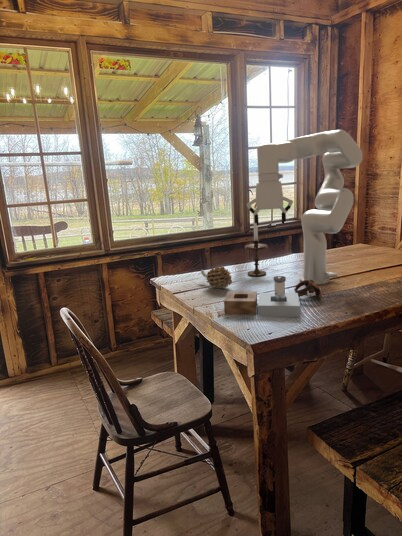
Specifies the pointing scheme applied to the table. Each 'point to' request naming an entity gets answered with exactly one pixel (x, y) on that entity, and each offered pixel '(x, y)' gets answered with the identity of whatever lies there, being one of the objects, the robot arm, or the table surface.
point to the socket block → (279, 305)
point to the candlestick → (256, 251)
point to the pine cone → (218, 277)
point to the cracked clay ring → (307, 288)
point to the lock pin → (279, 288)
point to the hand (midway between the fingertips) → (270, 224)
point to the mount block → (240, 302)
